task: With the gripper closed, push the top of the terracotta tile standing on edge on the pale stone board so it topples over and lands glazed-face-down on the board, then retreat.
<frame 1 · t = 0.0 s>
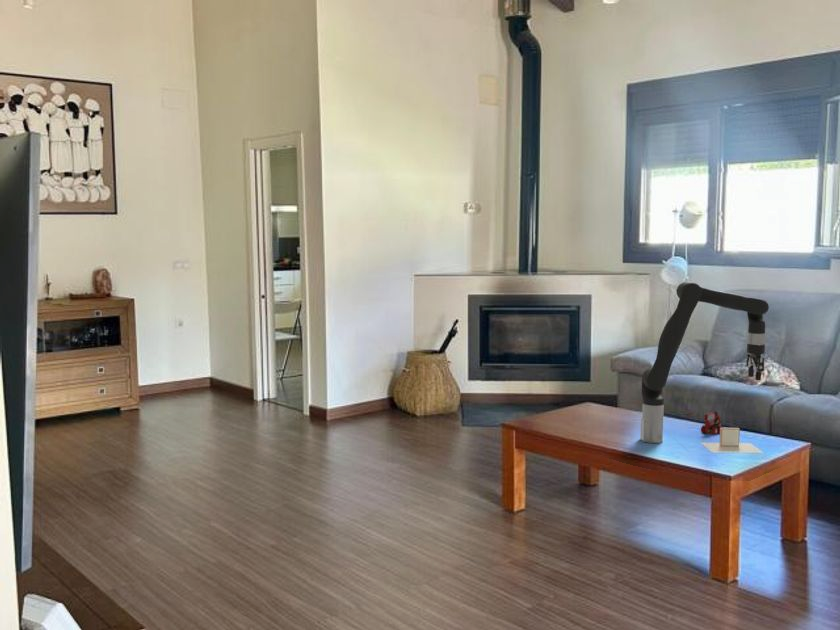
hand: (754, 378, 355), 29 cm above the table, fingers open, 8 cm apart
stone board: (731, 449, 345), on the table
tile: (729, 445, 348), point 1 cm above the table, touching stone board
red wheeled toy: (712, 434, 373), on the table
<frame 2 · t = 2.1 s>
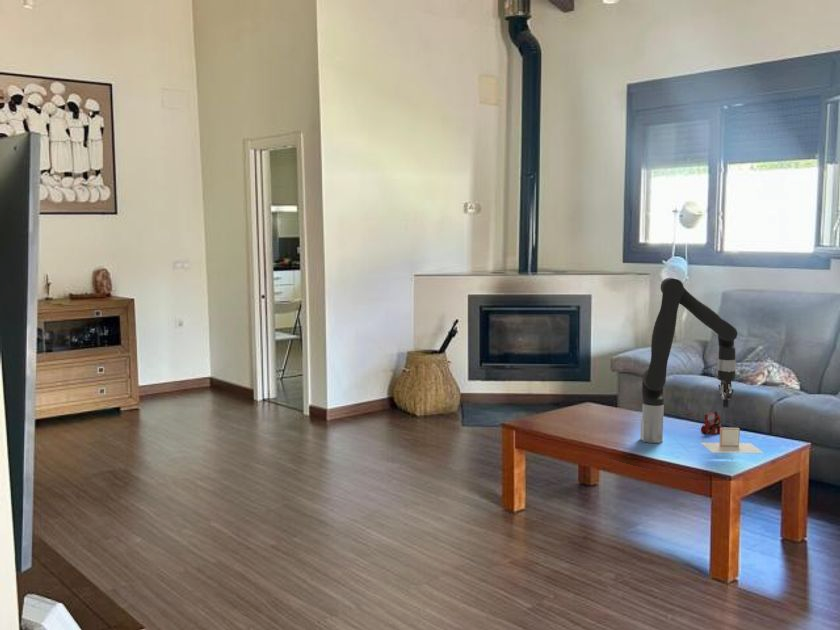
hand: (725, 407, 353), 17 cm above the table, fingers closed
nothing on the table moved.
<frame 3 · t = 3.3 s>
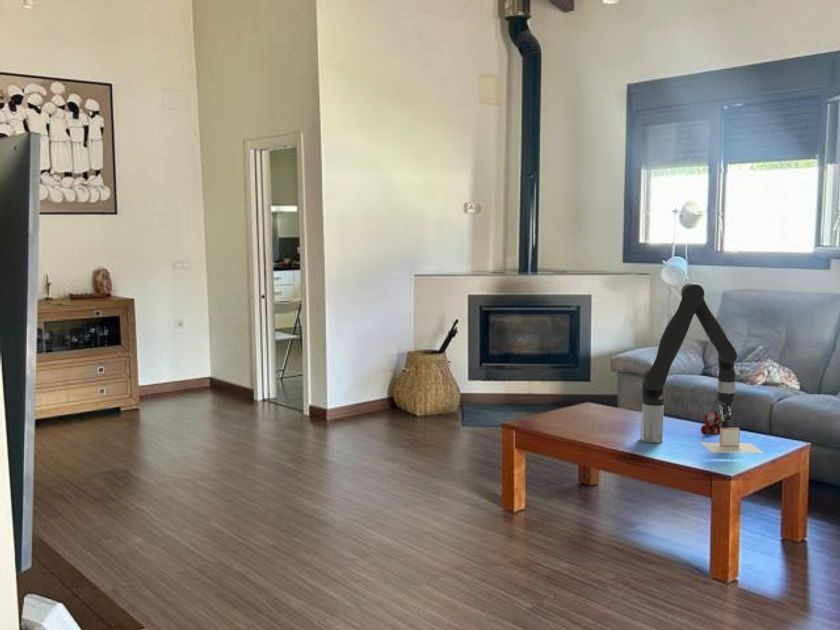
hand: (724, 428, 354), 7 cm above the table, fingers closed
nothing on the table moved.
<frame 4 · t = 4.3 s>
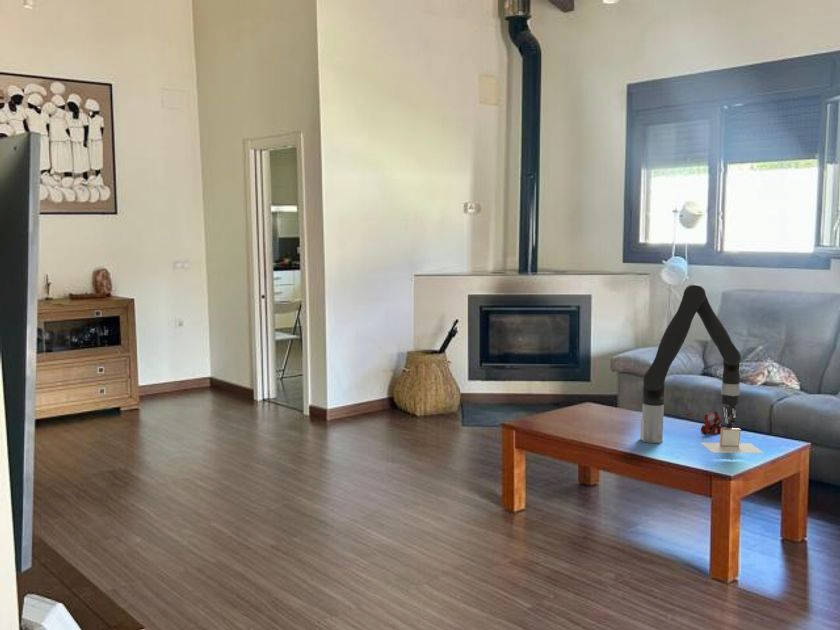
hand: (728, 431, 349), 7 cm above the table, fingers closed
tile: (729, 445, 348), point 1 cm above the table, tilted 8°, touching gripper, stone board
everything else where it was.
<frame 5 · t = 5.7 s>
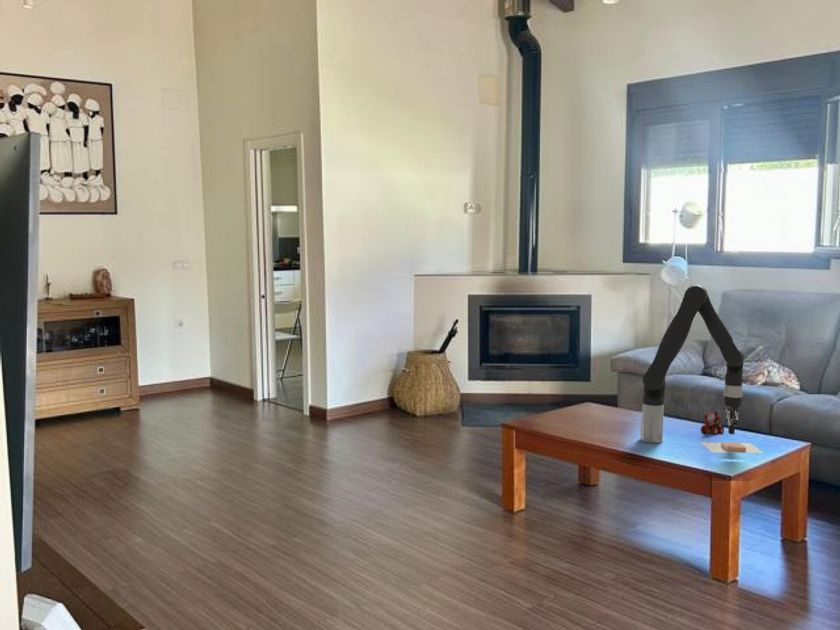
hand: (731, 433, 345), 7 cm above the table, fingers closed
tile: (729, 444, 347), point 2 cm above the table, tilted 90°, touching stone board
everything else where it was.
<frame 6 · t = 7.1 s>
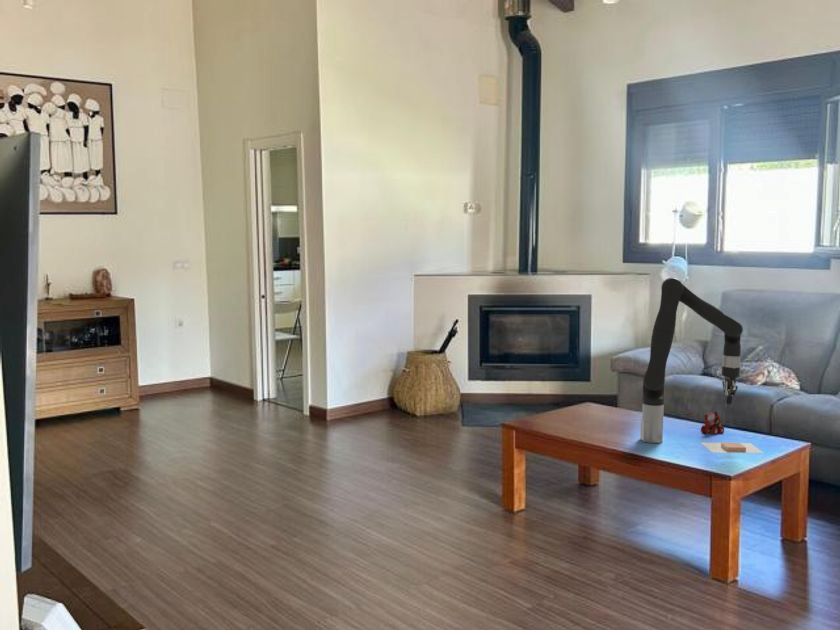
hand: (728, 404, 349), 19 cm above the table, fingers closed
nothing on the table moved.
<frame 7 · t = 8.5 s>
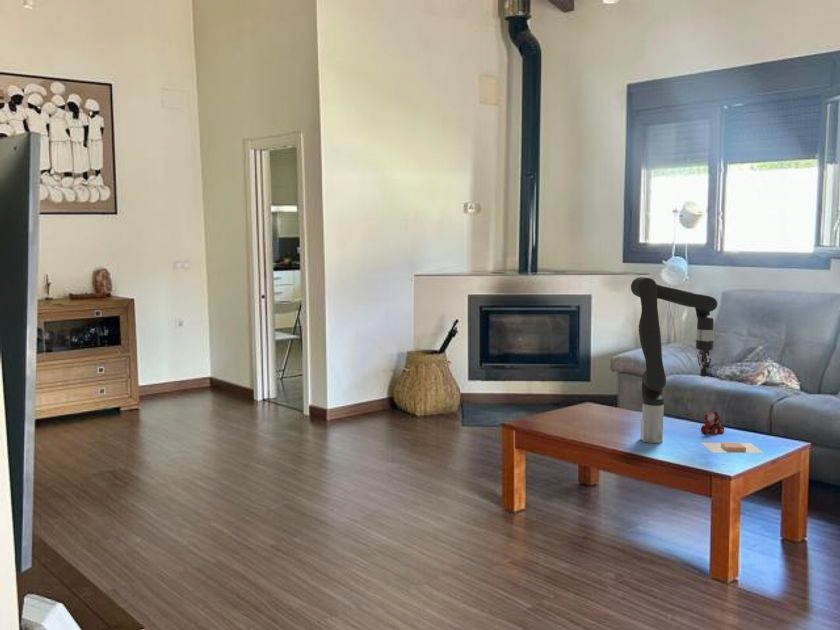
hand: (703, 376, 362), 29 cm above the table, fingers closed
nothing on the table moved.
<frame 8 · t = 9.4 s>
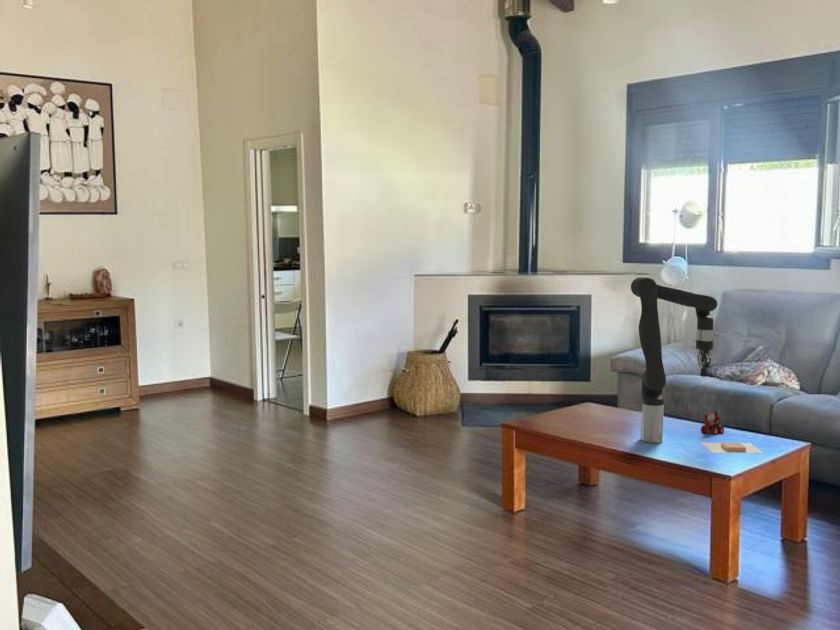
hand: (703, 376, 362), 29 cm above the table, fingers closed
nothing on the table moved.
at the end: tile tilted 90°; tile inside the target area on the stone board (2.1 cm from its centre), point 1.9 cm above the stone board's base; tile point 1.9 cm above the table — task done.
